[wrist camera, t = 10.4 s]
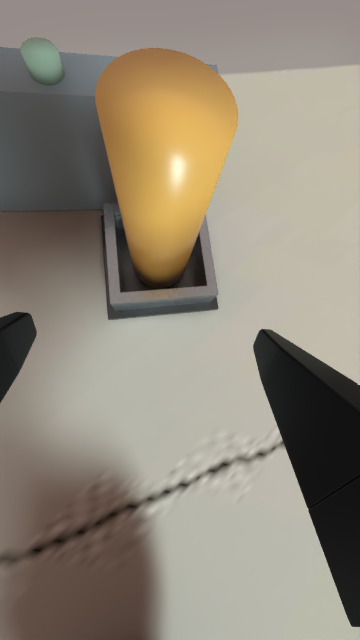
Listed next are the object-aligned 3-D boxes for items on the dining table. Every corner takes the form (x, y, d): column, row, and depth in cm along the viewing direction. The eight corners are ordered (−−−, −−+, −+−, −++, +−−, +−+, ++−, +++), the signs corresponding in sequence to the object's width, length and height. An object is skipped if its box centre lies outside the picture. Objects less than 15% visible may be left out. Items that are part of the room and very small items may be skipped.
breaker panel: (189, 173, 22) (217, 32, 12) (194, 207, 21) (228, 86, 12) (-21, 172, 19) (-195, -12, 10) (-22, 212, 18) (-210, 57, 9)
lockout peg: (195, 272, 20) (264, 135, 7) (150, 297, 19) (143, 187, 6) (168, 230, 20) (190, 34, 8) (122, 252, 19) (67, 69, 7)
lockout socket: (202, 215, 21) (209, 194, 18) (216, 309, 20) (227, 301, 17) (102, 218, 20) (93, 195, 17) (109, 320, 18) (101, 313, 15)
